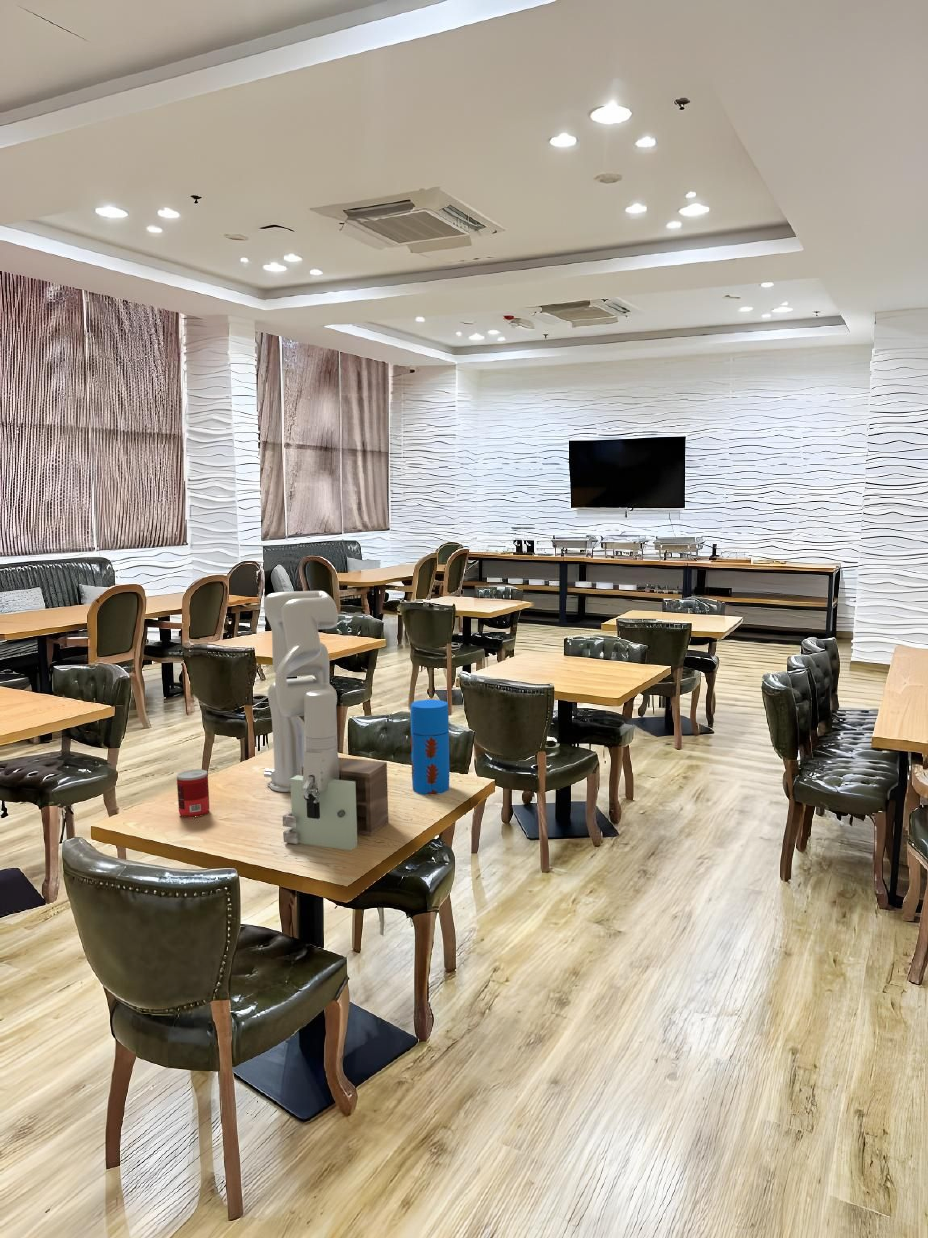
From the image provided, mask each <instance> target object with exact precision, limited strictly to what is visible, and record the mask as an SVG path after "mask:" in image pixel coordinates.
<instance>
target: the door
mask: <svg viewBox="0 0 928 1238" xmlns="http://www.w3.org/2000/svg"><path fill="white" fill-rule="evenodd" d="M290 784H291V792H290V802H291V803H290V806H291V811H292V816H295V817H297V822H298V827H297V828H293V827H292V832H297V833H298V843H297V844H303V845H309V844H310V845H311V846H318V847H325V848H331V849H339V848H340V849H339V850H346V851H353V850H354V849H355V848H357V847H358V834H357V817H356V785H355V782H354V781H345V780H336V779H334V780H332V781H331V782H329V783H328V789H326V790H325V791H323V792H321V793H320V796H319V799H318V802H320V818H319V819H313V818H308V817H307V802H305V799H304V795H303V792H302V788H303V776H299V775H296V776H295V777H293V778H291V779H290ZM313 789H318V788H313ZM315 794H316V793H312V795H313V796H314V797H315ZM310 845H309V846H310Z"/></svg>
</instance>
